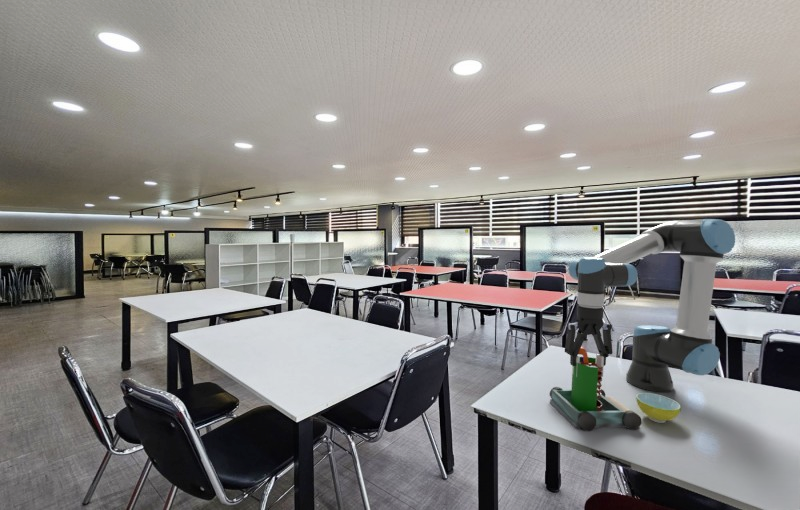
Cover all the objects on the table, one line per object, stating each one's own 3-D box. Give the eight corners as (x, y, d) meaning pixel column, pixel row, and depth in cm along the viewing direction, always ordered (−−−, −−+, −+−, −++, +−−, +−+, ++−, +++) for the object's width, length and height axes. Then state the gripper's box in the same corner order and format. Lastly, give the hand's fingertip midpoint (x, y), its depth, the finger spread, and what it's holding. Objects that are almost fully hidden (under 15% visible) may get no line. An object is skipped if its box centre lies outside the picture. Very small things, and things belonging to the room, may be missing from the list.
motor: (607, 417, 108) (609, 354, 107) (576, 414, 110) (577, 352, 108) (595, 402, 118) (597, 344, 117) (567, 399, 119) (568, 342, 118)
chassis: (602, 399, 124) (603, 386, 124) (642, 429, 105) (643, 413, 105) (548, 400, 123) (548, 386, 123) (578, 430, 104) (578, 414, 104)
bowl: (689, 427, 106) (690, 408, 106) (657, 430, 104) (658, 410, 104) (656, 409, 117) (657, 391, 117) (626, 411, 115) (627, 393, 115)
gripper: (612, 303, 116) (609, 370, 117) (553, 303, 115) (551, 371, 116) (628, 308, 108) (625, 379, 110) (565, 308, 107) (563, 380, 109)
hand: (587, 375), depth 113 cm, fingers closed on motor, 7 cm apart
